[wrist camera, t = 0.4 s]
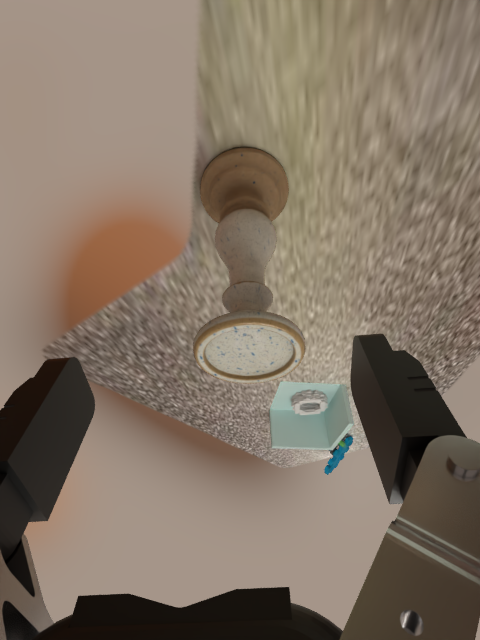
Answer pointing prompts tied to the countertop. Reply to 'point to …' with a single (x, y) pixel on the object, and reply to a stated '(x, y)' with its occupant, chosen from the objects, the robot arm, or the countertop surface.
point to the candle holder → (246, 271)
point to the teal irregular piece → (338, 454)
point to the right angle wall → (309, 416)
